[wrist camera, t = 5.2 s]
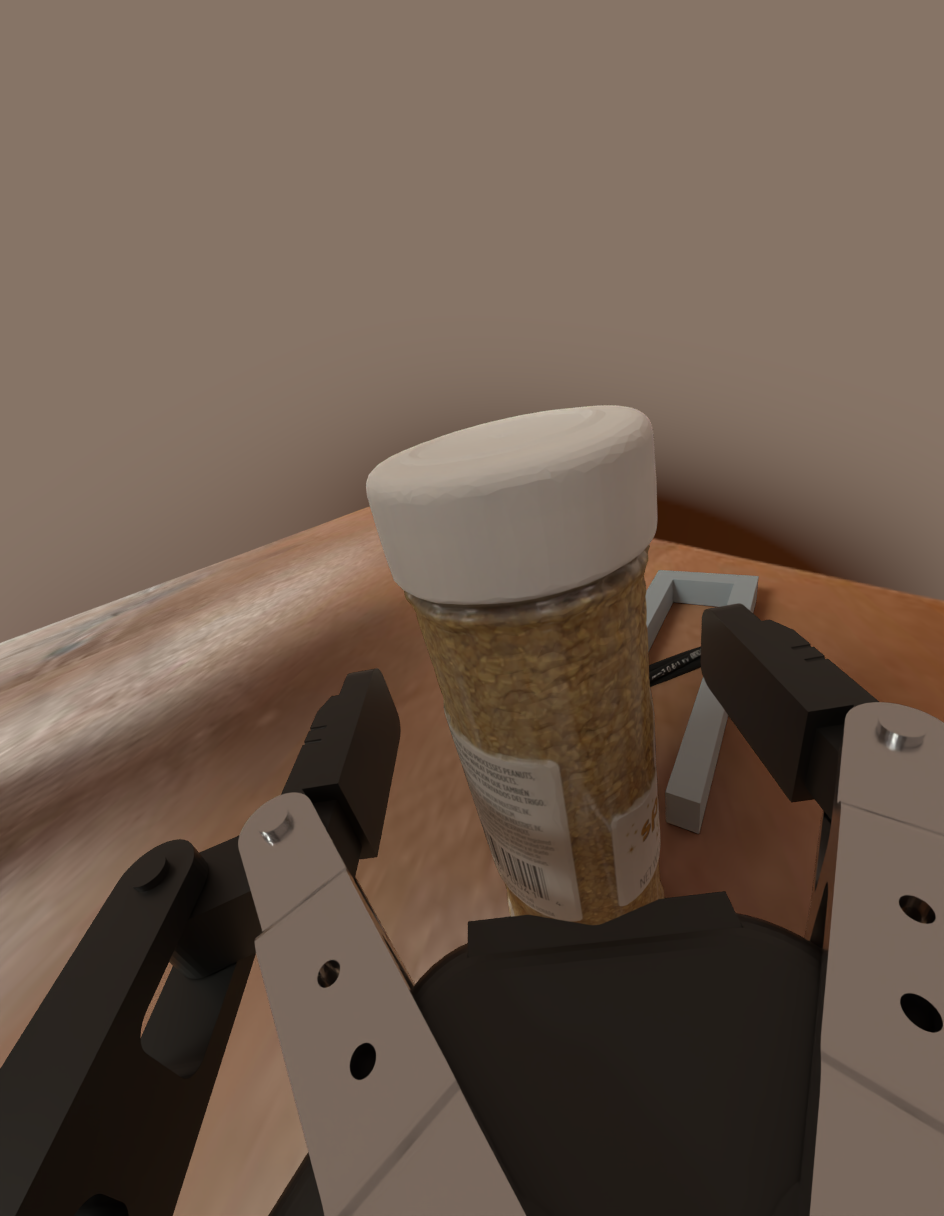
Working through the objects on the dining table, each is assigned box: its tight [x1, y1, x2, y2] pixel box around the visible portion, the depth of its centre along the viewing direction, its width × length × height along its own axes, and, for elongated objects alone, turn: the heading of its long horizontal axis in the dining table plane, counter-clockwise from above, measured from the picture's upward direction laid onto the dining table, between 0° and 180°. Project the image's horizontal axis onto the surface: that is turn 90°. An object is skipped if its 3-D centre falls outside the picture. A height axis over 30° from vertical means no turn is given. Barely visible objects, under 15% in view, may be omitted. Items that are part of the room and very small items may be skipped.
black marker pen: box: [649, 647, 701, 687], centre depth 21 cm, size 12×1×1 cm, turn 107°
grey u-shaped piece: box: [645, 570, 759, 834], centre depth 20 cm, size 5×15×2 cm, turn 146°
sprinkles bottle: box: [366, 405, 665, 925], centre depth 10 cm, size 5×5×14 cm
